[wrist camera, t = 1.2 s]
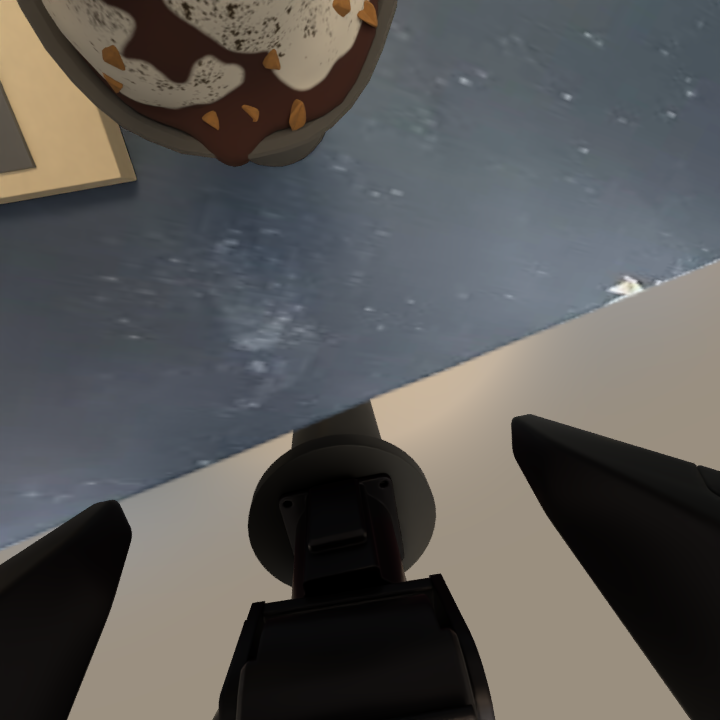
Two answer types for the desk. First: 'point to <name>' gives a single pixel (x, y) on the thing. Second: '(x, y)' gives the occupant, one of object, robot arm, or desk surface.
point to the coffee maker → (49, 123)
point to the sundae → (218, 68)
